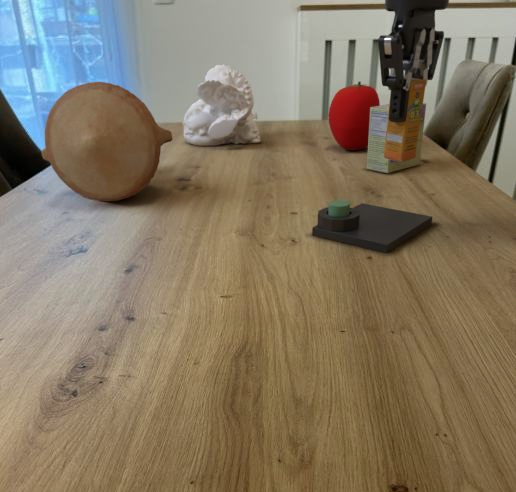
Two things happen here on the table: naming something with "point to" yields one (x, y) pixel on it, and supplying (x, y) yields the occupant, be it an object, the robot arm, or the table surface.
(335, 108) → the red apple
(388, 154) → the supplement box
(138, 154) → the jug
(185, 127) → the white sculpted figurine
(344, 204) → the button
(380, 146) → the box
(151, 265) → the table surface
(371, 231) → the dark grey button base
